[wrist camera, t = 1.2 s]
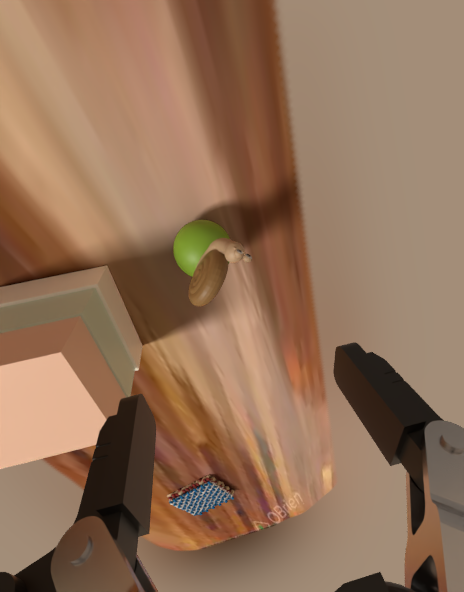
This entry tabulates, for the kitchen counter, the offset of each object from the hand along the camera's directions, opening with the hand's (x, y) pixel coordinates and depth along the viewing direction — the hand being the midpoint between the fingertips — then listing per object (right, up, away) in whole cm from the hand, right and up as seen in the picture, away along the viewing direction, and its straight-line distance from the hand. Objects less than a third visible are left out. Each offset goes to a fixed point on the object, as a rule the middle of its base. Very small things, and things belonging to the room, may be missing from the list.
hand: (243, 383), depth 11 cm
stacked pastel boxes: (-18, +1, +18) cm, 25 cm away
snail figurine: (-3, +10, +16) cm, 19 cm away
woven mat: (-7, -37, +44) cm, 58 cm away
